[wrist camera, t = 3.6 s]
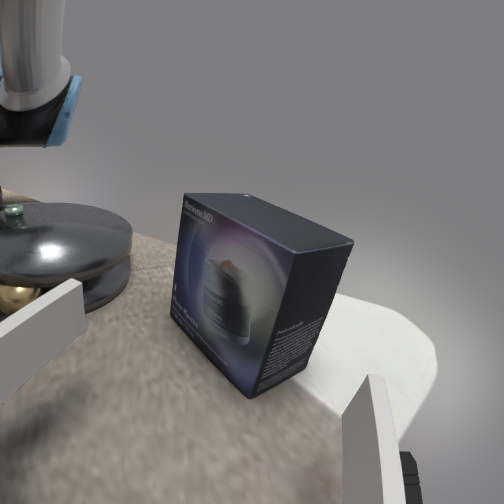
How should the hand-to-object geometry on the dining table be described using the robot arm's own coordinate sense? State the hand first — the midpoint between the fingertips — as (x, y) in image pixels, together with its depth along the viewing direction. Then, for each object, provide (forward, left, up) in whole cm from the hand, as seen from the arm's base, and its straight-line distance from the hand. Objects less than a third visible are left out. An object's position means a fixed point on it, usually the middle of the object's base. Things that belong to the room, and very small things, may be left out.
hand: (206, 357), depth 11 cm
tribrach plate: (-20, +9, -6) cm, 23 cm away
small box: (0, +9, -6) cm, 11 cm away
